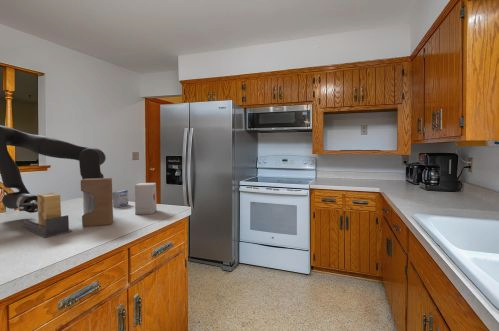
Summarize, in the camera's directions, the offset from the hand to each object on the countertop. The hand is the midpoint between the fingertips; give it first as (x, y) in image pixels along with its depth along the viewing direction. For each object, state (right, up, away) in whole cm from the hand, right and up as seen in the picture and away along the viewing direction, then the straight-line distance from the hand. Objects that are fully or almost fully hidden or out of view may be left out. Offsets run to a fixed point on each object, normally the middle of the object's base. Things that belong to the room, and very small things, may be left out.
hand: (45, 207), depth 111 cm
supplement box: (+30, -7, +31) cm, 43 cm away
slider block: (+3, -8, -2) cm, 9 cm away
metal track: (-1, -9, +1) cm, 9 cm away
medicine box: (+8, -6, +47) cm, 48 cm away
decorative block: (+17, -9, +8) cm, 21 cm away
